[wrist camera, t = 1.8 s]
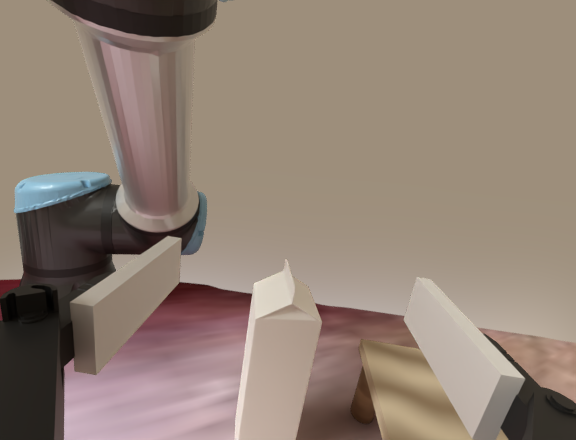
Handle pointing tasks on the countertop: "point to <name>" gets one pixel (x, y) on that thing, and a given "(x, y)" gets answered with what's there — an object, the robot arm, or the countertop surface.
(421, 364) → the small table
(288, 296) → the milk
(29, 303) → the robot arm
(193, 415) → the countertop surface
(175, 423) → the countertop surface
